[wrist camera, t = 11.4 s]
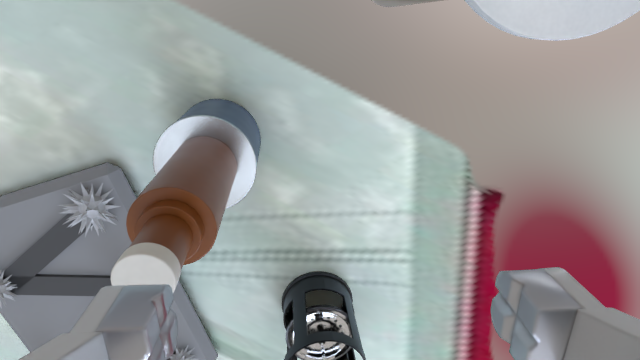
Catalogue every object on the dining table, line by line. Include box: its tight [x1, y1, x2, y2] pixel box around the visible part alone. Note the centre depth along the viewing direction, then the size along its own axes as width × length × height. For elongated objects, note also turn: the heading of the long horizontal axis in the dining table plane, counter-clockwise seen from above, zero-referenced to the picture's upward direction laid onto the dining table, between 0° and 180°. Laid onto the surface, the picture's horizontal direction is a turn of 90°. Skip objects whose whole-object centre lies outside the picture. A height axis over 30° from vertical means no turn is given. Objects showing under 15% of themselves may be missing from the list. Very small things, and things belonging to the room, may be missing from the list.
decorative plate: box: [0, 163, 218, 360], centre depth 48 cm, size 30×22×7 cm
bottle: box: [111, 136, 237, 293], centre depth 29 cm, size 6×6×18 cm
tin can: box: [153, 99, 261, 209], centre depth 41 cm, size 9×9×9 cm
